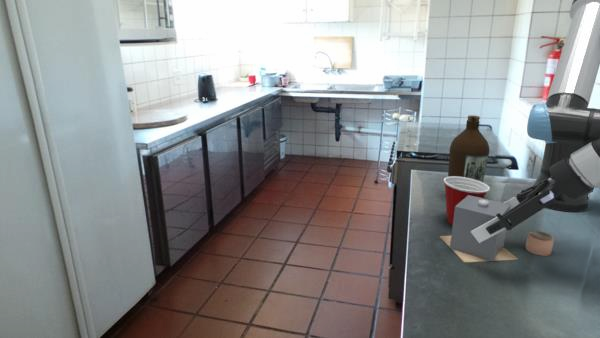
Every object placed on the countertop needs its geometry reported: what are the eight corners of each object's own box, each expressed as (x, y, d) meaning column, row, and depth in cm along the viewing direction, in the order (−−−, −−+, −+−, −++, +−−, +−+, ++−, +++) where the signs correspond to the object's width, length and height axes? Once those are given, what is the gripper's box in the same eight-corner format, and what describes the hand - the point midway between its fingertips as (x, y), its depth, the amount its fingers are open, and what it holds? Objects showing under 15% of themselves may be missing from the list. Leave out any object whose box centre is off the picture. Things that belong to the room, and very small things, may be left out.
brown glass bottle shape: (437, 193, 127) (446, 113, 120) (467, 191, 130) (478, 112, 122) (457, 206, 117) (468, 120, 110) (489, 203, 120) (503, 118, 112)
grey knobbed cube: (462, 234, 98) (468, 190, 94) (503, 245, 92) (511, 200, 89) (449, 248, 91) (455, 202, 88) (492, 261, 86) (500, 212, 82)
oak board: (486, 238, 98) (487, 234, 98) (517, 264, 87) (518, 259, 87) (438, 240, 97) (439, 236, 97) (463, 267, 86) (464, 262, 85)
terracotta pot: (540, 248, 94) (544, 230, 92) (555, 259, 89) (559, 240, 88) (519, 249, 93) (523, 231, 92) (534, 260, 88) (538, 241, 87)
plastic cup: (487, 238, 99) (495, 191, 95) (440, 233, 101) (446, 187, 97) (478, 219, 109) (485, 176, 105) (436, 216, 111) (441, 173, 107)
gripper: (590, 209, 65) (479, 263, 78) (600, 173, 84) (509, 221, 97) (558, 171, 67) (454, 230, 80) (575, 144, 86) (489, 195, 99)
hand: (484, 226), depth 89 cm, fingers open, 13 cm apart
